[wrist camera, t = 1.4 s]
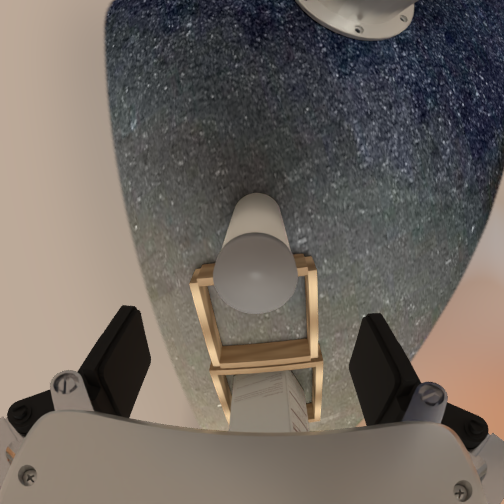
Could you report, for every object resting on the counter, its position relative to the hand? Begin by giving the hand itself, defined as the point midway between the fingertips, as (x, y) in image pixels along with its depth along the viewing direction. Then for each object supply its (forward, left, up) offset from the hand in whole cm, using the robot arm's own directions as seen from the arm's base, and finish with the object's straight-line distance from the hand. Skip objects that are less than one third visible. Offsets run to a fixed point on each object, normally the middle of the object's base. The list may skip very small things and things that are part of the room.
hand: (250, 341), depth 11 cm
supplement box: (+22, +3, -17) cm, 28 cm away
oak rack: (+16, +2, -17) cm, 23 cm away
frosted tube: (0, 0, -17) cm, 17 cm away
